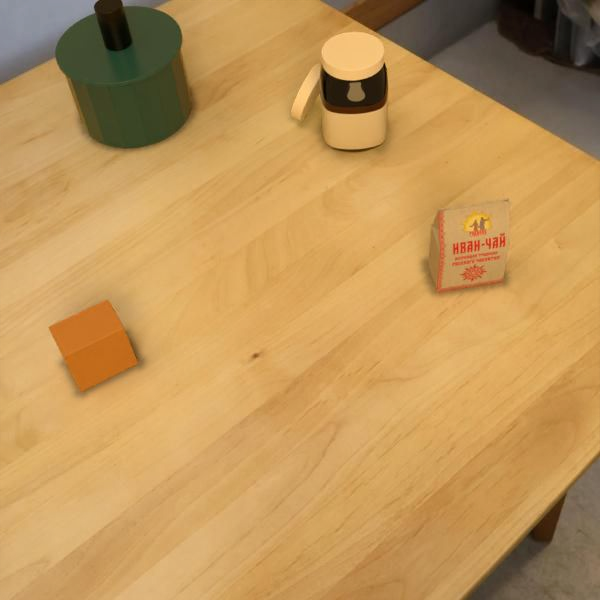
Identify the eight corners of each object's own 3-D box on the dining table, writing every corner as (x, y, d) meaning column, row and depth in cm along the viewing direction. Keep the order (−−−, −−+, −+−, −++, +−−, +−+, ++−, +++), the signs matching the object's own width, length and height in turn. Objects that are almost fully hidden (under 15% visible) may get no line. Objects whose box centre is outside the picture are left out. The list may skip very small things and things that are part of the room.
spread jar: (390, 160, 98) (391, 78, 89) (291, 165, 98) (283, 84, 89) (383, 93, 105) (384, 10, 96) (292, 98, 106) (284, 16, 96)
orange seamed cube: (81, 392, 81) (63, 357, 77) (66, 362, 84) (48, 326, 79) (138, 363, 83) (124, 327, 78) (122, 335, 85) (107, 298, 80)
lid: (84, 108, 93) (69, 62, 88) (40, 42, 101) (23, -4, 97) (204, 60, 97) (196, 13, 92) (152, -1, 105) (142, -47, 100)
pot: (107, 163, 101) (86, 99, 93) (67, 102, 108) (44, 38, 101) (210, 120, 104) (197, 55, 97) (164, 63, 112) (149, -1, 104)
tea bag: (428, 264, 88) (433, 196, 80) (492, 254, 88) (504, 185, 80) (436, 292, 86) (443, 224, 78) (502, 281, 86) (515, 213, 78)
